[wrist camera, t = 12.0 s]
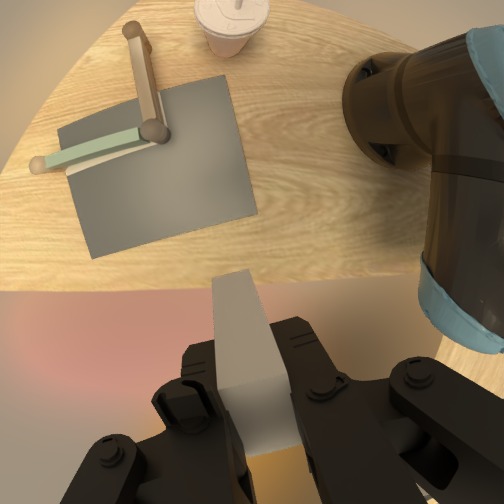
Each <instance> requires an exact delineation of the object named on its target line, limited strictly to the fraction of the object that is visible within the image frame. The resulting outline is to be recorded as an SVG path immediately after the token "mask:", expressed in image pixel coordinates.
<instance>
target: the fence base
mask: <svg viewBox="0 0 504 504" xmlns="http://www.w3.org/2000/svg"><path fill="white" fill-rule="evenodd" d="M122 33H123V35H124V36H125V38H126V39H127V40H128V45H129V51H130V57H131V62H132V68H133V73H134V78H135V83H136V88H137V93H138V98H139V103H140V108H141V112H142V117H143V123H142V125H141V128H140V133H141V135H142V137H143V138H144V139H146V140H148V141H151V142H154V143H157V144H165V143H167V142H168V141H169V140H170V138H171V132H170V130H169V129H168V128H167V127H166V126H165V125H164V120H163V116H162V111H161V107H160V102H159V98H158V93H157V89H156V84H155V79H154V74H153V69H152V64H151V59H150V53H151V51H152V47H151V45H150V43H149V41H148V39H147V37H146V35H145V33H144V31H143V29H142V27H141V25H140V23H139V22H137V21H130V22H128V23H126V24H125V25H124V26H123V28H122Z"/></svg>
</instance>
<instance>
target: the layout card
mask: <svg viewBox="0 0 504 504" xmlns="http://www.w3.org/2000/svg"><path fill="white" fill-rule="evenodd" d="M157 93H158V98H159V102H160V107H161V111H162V116H163V120H164V125H165V126H166V127H167V128H168V129H169V130H170V132H171V138H170V140H169V141H168V142H167V143H165V144H157V143H154V142H151V141H150V143H149V144H145V145H140V146H137V147H133V148H129V149H125V150H121V151H118V152H114V153H111V154H107V155H104V156H100V157H97V158H94V159H90V160H87V161H84V162H81V163H78V164H75V165H72V166H69V167H67V169H66V170H65V171H66V175H67V178H68V182H69V186H70V190H71V193H72V197H73V201H74V204H75V208H76V211H77V215H78V218H79V221H80V225H81V228H82V231H83V234H84V237H85V240H86V243H87V246H88V249H89V252H90V255H91V258H92V259H95V258H98V257H102V256H105V255H108V254H112V253H115V252H119V251H122V250H126V249H129V248H133V247H136V246H140V245H143V244H147V243H150V242H154V241H157V240H161V239H165V238H168V237H172V236H176V235H179V234H183V233H187V232H190V231H194V230H198V229H202V228H205V227H209V226H213V225H217V224H221V223H225V222H228V221H232V220H236V219H240V218H244V217H248V216H252V215H256V214H258V213H257V209H256V204H255V200H254V196H253V191H252V187H251V183H250V179H249V174H248V170H247V166H246V161H245V157H244V153H243V149H242V144H241V140H240V136H239V132H238V128H237V123H236V119H235V115H234V111H233V107H232V103H231V98H230V94H229V90H228V86H227V82H226V78H225V75H221V76H217V77H212V78H208V79H203V80H199V81H195V82H191V83H187V84H183V85H179V86H175V87H172V88H168V89H165V90H161V91H157ZM142 123H143V117H142V112H141V108H140V103H139V98H136V99H133V100H130V101H127V102H124V103H121V104H118V105H116V106H113V107H110V108H107V109H105V110H102V111H100V112H97V113H95V114H92V115H90V116H87V117H85V118H82V119H80V120H78V121H75V122H73V123H71V124H69V125H66V126H64V127H62V128H60V129H58V130H57V131H58V137H59V142H60V147H61V151H62V150H64V149H67V148H70V147H73V146H76V145H79V144H82V143H85V142H88V141H91V140H94V139H97V138H101V137H104V136H107V135H111V134H114V133H118V132H121V131H125V130H128V129H132V128H136V127H138V128H141V125H142Z"/></svg>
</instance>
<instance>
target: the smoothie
mask: <svg viewBox="0 0 504 504" xmlns="http://www.w3.org/2000/svg"><path fill="white" fill-rule="evenodd" d="M269 11H270V4H269V0H196V1H195V7H194V15H195V19H196V21H197V22H198V24H199V26H200V27H201V28H203V30H204V33H205V35H206V38H207V41H208V44H209V46H210V49H211V51H212V52H213V53H214V54H216V55H217V56H220V57H232V56H234V55H236V54H237V53H239V52H240V50H241V49H242V48H243V46H244V45H245V44H246V42H247V41H248V40H249V38H250V37H251V36H252V34H254V33H255V32H257V31H258V30H260V29H261V28H262V27H263V25H264V24H265V23H266V21H267V18H268V15H269Z"/></svg>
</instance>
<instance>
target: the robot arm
mask: <svg viewBox="0 0 504 504" xmlns="http://www.w3.org/2000/svg"><path fill="white" fill-rule="evenodd" d="M343 111H344V117H345V120H346V124H347V126H348V129H349V131H350V133H351V135H352V137H353V139H354V140H355V142H356V144H357V145H358V146H359V148H360V149H361V150H362V151H363V152H364V153H365V154H366V155H367V156H368V157H369V158H370V159H372V160H373V161H375V162H376V163H378V164H380V165H382V166H384V167H387V168H390V169H396V170H416V169H420V168H423V167H425V166H427V165H430V164H432V170H431V171H432V172H431V184H430V200H429V212H428V222H427V231H426V239H425V246H424V251H423V252H422V253H421V256H420V264H421V272H420V280H419V287H418V299H419V303H420V306H421V309H422V310H423V312H424V314H425V315H426V317H427V318H428V319H429V320H430V321H431V323H432V324H433V325H434V327H436V328H437V329H438V330H439V331H440V332H441V333H443V334H444V335H445V336H447V337H448V338H449V339H451V340H453V341H454V342H456V343H458V344H460V345H462V346H464V347H466V348H468V349H471V350H474V351H477V352H480V353H485V354H498V353H499V352H500V353H502V354H503V353H504V25H495V26H489V27H484V28H473V29H471V30H469V31H468V32H467V33H464V34H461V35H459V36H456V37H453V38H451V39H448V40H446V41H443V42H440V43H438V44H435V45H433V46H430V47H428V48H426V49H423V50H420V51H418V52H416V53H414V54H412V53H397V52H384V53H379V54H375V55H373V56H371V57H369V58H367V59H365V60H363V61H362V62H360V63H359V64H358V65H356V66H355V67H354V69H353V70H352V71H351V73H350V74H349V76H348V78H347V80H346V83H345V86H344V91H343ZM212 296H213V316H214V317H213V319H214V340H210V341H205V342H201V343H197V344H192V345H189V347H188V348H187V350H186V351H185V353H184V354H183V356H182V369H181V377H180V378H177V379H174V380H171V381H169V382H168V383H166V384H165V385H163V386H161V387H160V388H159V389H158V390H157V392H155V394H154V396H153V398H152V401H151V402H152V404H153V406H154V407H155V409H156V411H157V413H158V414H159V416H160V417H161V419H162V421H163V422H164V424H165V426H166V430H165V431H163V432H162V433H160V434H158V435H156V436H154V437H151V438H148V439H146V440H143V441H140V442H138V443H135V442H134V441H133V440H132V439H131V438H130V437H129V436H126V435H122V434H111V435H109V436H105V437H103V438H101V439H100V440H98V441H97V442H95V443H94V445H93V446H92V447H91V448H90V449H89V451H88V453H87V455H86V456H85V458H84V460H83V462H82V463H81V466H80V467H79V469H78V471H77V473H76V474H75V476H74V478H73V480H72V482H71V483H70V485H69V487H68V489H67V491H66V493H65V495H64V497H63V498H62V500H61V502H60V504H257V501H256V496H255V491H254V486H253V480H252V475H251V472H250V470H249V468H248V466H247V463H246V457H245V453H246V455H247V457H253V456H257V455H262V454H266V453H270V452H274V451H278V450H282V449H285V448H289V447H293V446H296V445H300V444H303V446H304V448H305V452H306V457H307V462H308V466H309V471H310V473H312V475H313V479H314V481H315V484H316V487H317V490H318V493H319V496H320V499H321V502H322V504H428V503H427V501H426V500H425V498H424V496H423V495H422V493H421V491H420V490H419V488H418V486H417V485H416V483H417V484H418V485H419V486H420V487H421V488H423V489H424V490H425V491H426V492H427V493H428V494H429V495H430V496H431V497H433V498H434V499H435V500H436V501H437V502H438V503H439V504H504V400H503V399H501V398H500V397H498V396H496V395H495V394H493V393H491V392H490V391H488V390H486V389H485V388H483V387H481V386H479V385H478V384H476V383H474V382H473V381H471V380H469V379H468V378H466V377H464V376H463V375H461V374H459V373H458V372H456V371H454V370H452V369H451V368H449V367H447V366H446V365H444V364H442V363H441V362H439V361H437V360H434V359H432V358H429V357H413V358H408V359H406V360H403V361H401V362H399V363H398V364H397V365H396V366H395V367H394V368H393V369H392V372H391V374H390V377H389V378H386V379H379V380H372V381H358V380H353V379H351V378H349V377H348V376H347V375H346V374H345V373H342V372H340V371H338V370H337V369H336V367H335V366H334V364H333V362H332V360H331V359H330V357H329V356H328V354H327V352H326V351H325V349H324V347H323V346H322V344H321V343H320V341H319V339H318V337H317V336H316V334H315V333H314V331H313V329H312V327H311V326H310V324H309V322H307V321H305V320H303V319H302V318H300V317H298V316H297V317H293V318H289V319H286V320H283V321H279V322H276V323H272V324H269V323H268V320H267V317H266V315H265V312H264V309H263V307H262V304H261V301H260V299H259V296H258V293H257V290H256V288H255V285H254V282H253V280H252V277H251V274H250V271H249V269H246V270H242V271H238V272H234V273H231V274H227V275H223V276H219V277H215V278H212ZM415 482H416V483H415Z"/></svg>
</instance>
